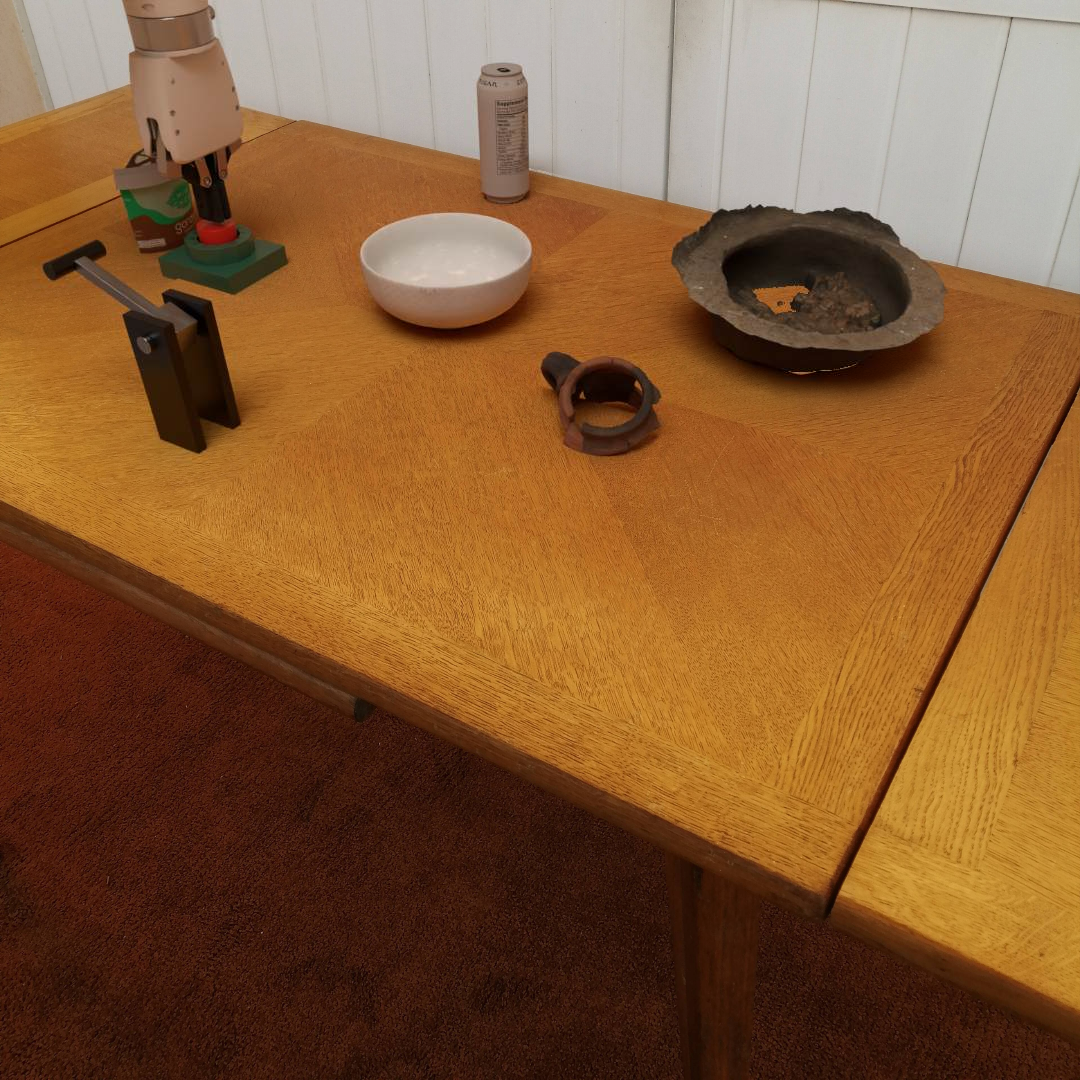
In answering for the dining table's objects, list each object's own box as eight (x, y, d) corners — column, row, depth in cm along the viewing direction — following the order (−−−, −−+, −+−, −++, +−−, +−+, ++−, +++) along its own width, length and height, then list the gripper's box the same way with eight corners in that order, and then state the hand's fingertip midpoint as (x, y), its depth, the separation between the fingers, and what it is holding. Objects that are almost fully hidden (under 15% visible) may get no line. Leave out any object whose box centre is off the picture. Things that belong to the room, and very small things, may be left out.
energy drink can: (513, 183, 129) (510, 58, 119) (538, 198, 125) (537, 70, 115) (473, 193, 126) (466, 66, 117) (496, 208, 123) (491, 79, 113)
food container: (191, 259, 112) (168, 170, 106) (136, 260, 112) (110, 170, 106) (219, 215, 121) (200, 131, 115) (169, 215, 122) (147, 131, 115)
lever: (43, 279, 78) (41, 254, 76) (93, 255, 81) (93, 230, 79) (162, 364, 76) (163, 340, 75) (208, 336, 80) (210, 313, 78)
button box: (162, 276, 109) (153, 241, 106) (220, 246, 115) (213, 212, 112) (231, 297, 105) (223, 261, 103) (288, 264, 111) (281, 229, 108)
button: (191, 242, 107) (187, 226, 106) (218, 228, 110) (214, 213, 109) (219, 249, 106) (216, 233, 104) (245, 236, 108) (242, 220, 107)
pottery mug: (681, 424, 87) (686, 379, 79) (617, 506, 85) (616, 468, 77) (572, 354, 90) (566, 304, 83) (507, 432, 88) (495, 388, 81)
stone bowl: (723, 259, 111) (739, 176, 104) (949, 328, 102) (981, 242, 96) (624, 355, 94) (637, 263, 88) (884, 446, 86) (918, 353, 80)
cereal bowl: (335, 330, 99) (324, 264, 95) (420, 264, 111) (414, 201, 106) (486, 367, 94) (482, 298, 89) (559, 293, 105) (560, 228, 101)
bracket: (122, 451, 84) (75, 312, 76) (191, 405, 89) (154, 271, 81) (219, 490, 80) (181, 348, 71) (286, 439, 85) (257, 302, 77)
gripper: (199, 8, 101) (238, 188, 113) (81, 44, 91) (137, 237, 103) (256, 16, 98) (289, 200, 110) (140, 55, 88) (190, 252, 100)
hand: (215, 218), depth 106 cm, fingers closed
